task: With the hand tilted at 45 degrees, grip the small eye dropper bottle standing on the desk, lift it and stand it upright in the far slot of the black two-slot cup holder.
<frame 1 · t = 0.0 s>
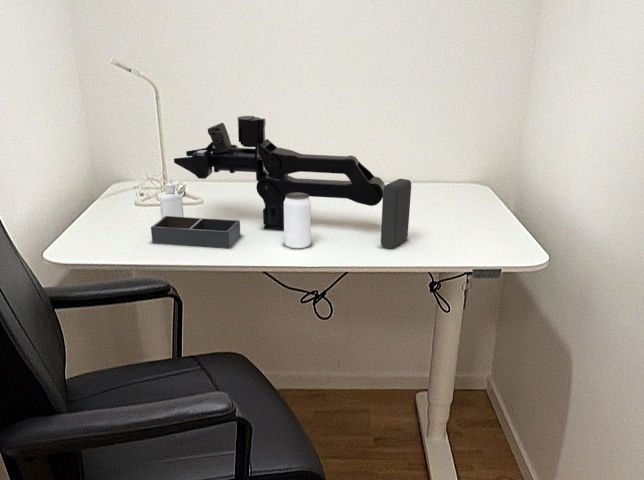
hand: (180, 156, 189), 17 cm above the table, tool horizontal, fingers open, 9 cm apart
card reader: (393, 244, 182), on the table
can: (297, 245, 181), on the table
eye dropper bottle: (173, 226, 193), on the table
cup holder: (197, 239, 183), on the table
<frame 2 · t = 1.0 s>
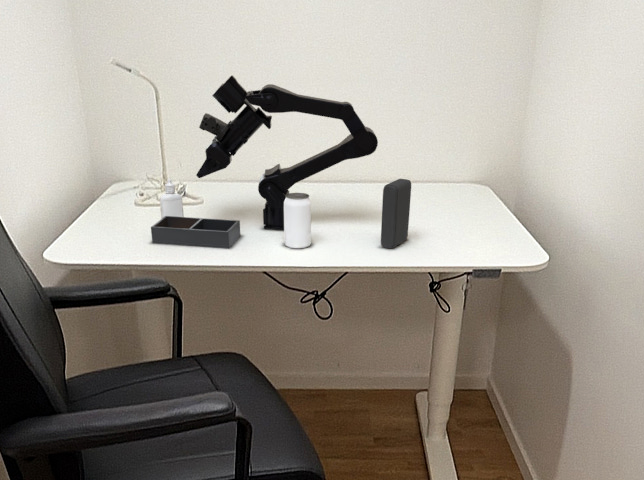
hand: (200, 172, 187), 14 cm above the table, tool tilted 45°, fingers open, 9 cm apart
nothing on the table moved.
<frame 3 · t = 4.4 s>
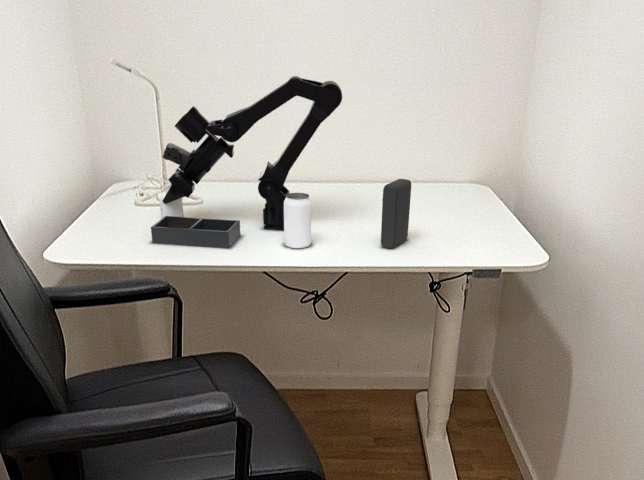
hand: (165, 200, 190), 7 cm above the table, tool tilted 45°, fingers closed on eye dropper bottle, 4 cm apart
eye dropper bottle: (173, 226, 193), on the table, touching gripper
everything else where it was.
when the fingers open (7 cm above the table, at t = 9.8 s): eye dropper bottle stays where it is, resting on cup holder.
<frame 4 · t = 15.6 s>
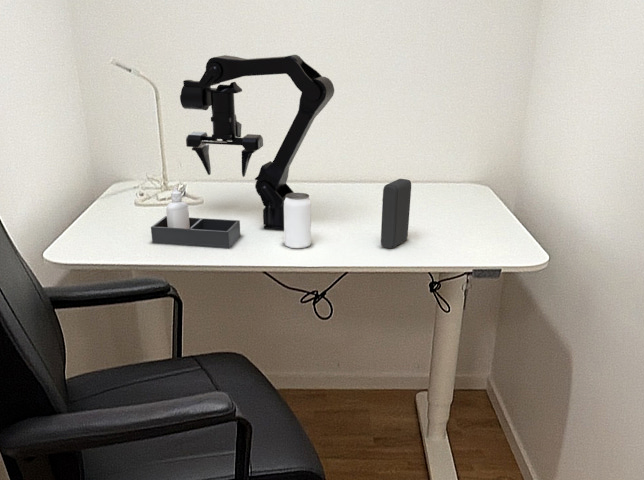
hand: (226, 175, 191), 12 cm above the table, tool pointing down, fingers open, 9 cm apart
eye dropper bottle: (179, 236, 184), point 1 cm above the table, touching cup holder
everything else where it was.
at the end: eye dropper bottle 0.2 cm from the target spot in the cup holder, point 0.5 cm above the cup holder's base; eye dropper bottle tilted 0°; the gripper is holding nothing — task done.
